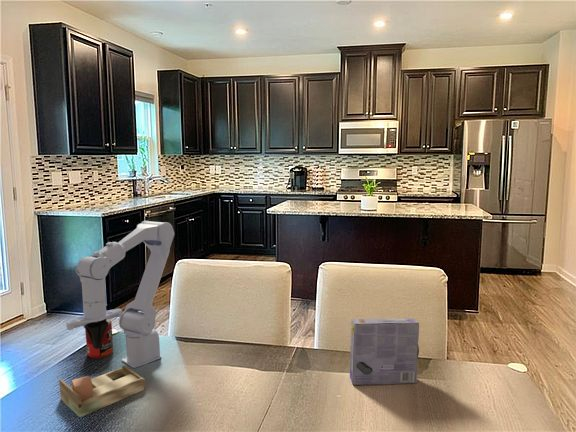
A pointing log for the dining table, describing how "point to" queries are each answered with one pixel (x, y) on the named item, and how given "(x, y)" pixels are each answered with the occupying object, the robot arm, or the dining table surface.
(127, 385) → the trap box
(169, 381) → the dining table surface
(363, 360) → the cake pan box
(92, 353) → the canned food
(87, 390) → the block
